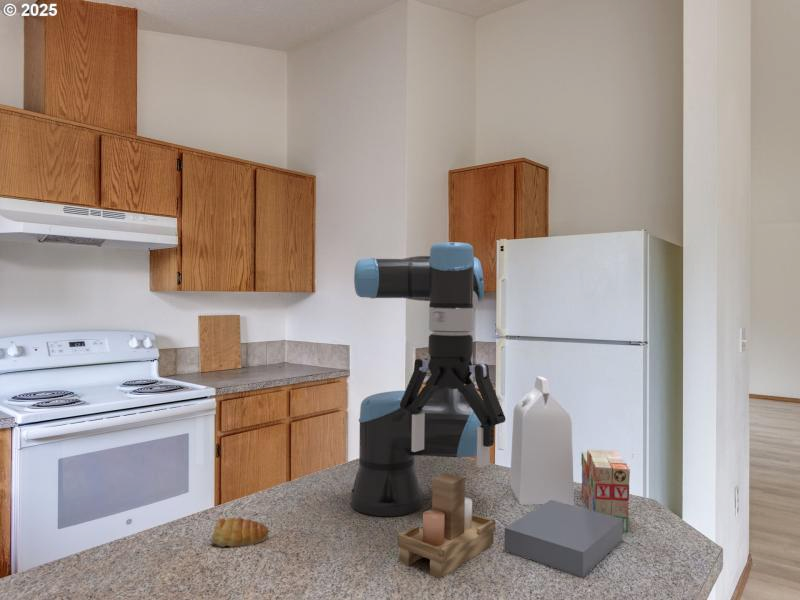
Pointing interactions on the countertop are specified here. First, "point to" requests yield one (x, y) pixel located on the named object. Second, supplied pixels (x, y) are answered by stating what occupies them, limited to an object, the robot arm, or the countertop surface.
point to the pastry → (238, 532)
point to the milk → (541, 449)
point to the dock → (564, 536)
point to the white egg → (468, 514)
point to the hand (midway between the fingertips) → (449, 457)
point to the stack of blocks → (606, 483)
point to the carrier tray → (447, 549)
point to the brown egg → (434, 527)
